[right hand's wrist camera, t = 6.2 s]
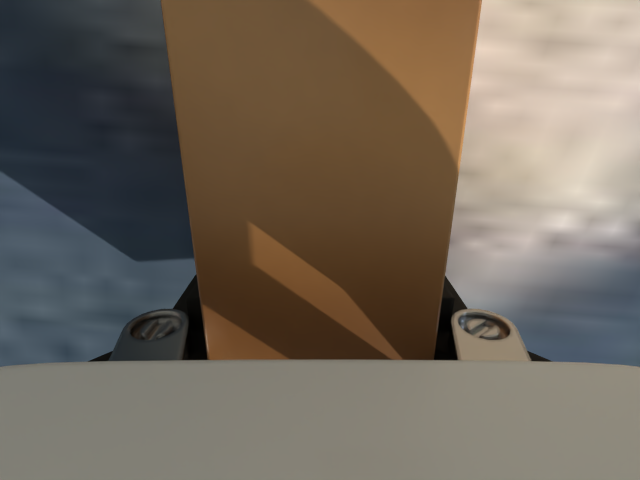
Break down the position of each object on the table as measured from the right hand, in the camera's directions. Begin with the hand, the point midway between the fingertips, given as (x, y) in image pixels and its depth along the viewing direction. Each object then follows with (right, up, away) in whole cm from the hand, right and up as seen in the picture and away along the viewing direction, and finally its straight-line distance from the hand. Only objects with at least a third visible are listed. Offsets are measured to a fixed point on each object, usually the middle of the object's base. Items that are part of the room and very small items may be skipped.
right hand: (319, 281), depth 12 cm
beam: (0, +34, -11) cm, 35 cm away
